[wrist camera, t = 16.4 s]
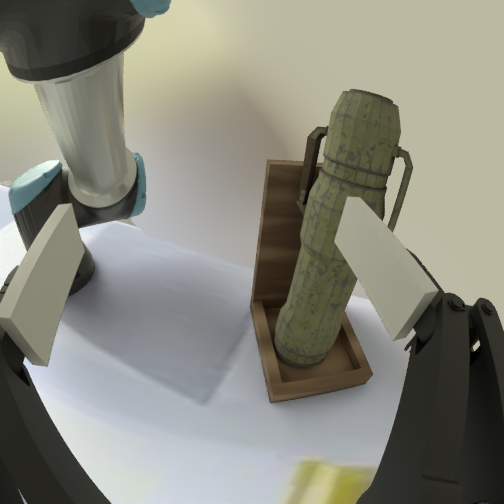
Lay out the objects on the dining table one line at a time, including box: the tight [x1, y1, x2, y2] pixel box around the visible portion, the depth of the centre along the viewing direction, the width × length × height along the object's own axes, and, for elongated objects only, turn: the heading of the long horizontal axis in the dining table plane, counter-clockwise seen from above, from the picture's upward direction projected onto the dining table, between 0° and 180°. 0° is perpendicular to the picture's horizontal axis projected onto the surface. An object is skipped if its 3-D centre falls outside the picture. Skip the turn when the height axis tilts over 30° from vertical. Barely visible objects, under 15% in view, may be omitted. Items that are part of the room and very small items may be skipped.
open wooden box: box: [250, 160, 373, 403], centre depth 35 cm, size 18×15×26 cm
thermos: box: [273, 89, 413, 367], centre depth 32 cm, size 9×12×35 cm
